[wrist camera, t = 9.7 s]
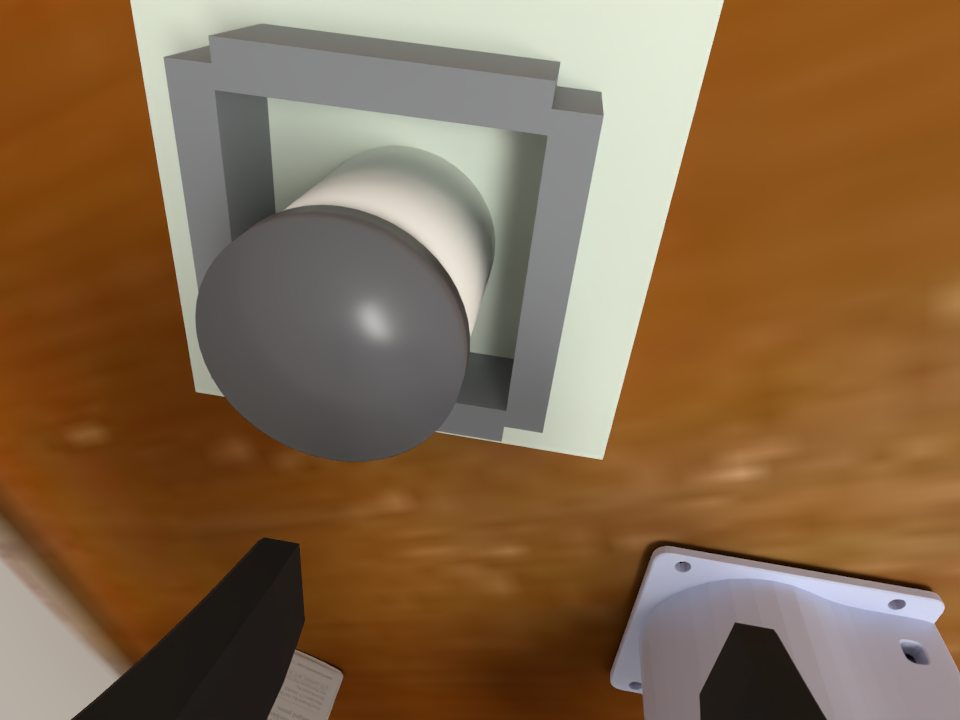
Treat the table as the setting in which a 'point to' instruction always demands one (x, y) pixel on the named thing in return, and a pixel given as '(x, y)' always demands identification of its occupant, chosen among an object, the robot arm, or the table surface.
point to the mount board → (461, 141)
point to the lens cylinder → (352, 307)
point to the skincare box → (307, 690)
